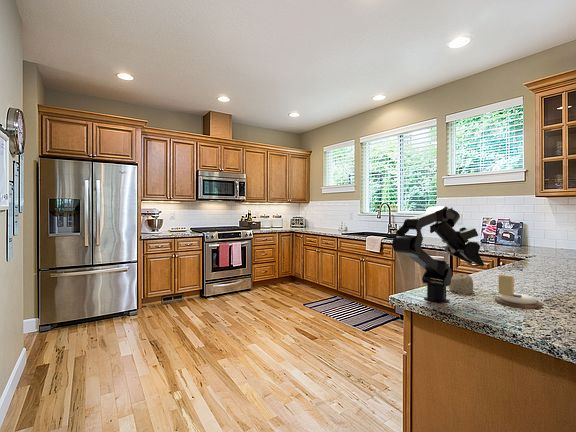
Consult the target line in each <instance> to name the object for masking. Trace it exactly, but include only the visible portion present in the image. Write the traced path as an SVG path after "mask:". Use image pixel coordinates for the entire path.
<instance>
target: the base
mask: <svg viewBox="0 0 576 432" xmlns="http://www.w3.org/2000/svg"><path fill="white" fill-rule="evenodd" d="M494 302H496V303H498V304H500V305H504V306H507V307H510V308H511V307H512V308H518V309H529V310H530V309H531V310H532V309H533V310H535V309H537V310H538V309H541V308H543V303H542V302H541V301H539V300H537V303H536V304H518V303H512V302H507V301H504V300H501V299H500V298H499V295H495V296H494Z"/></svg>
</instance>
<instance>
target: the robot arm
mask: <svg viewBox="0 0 576 432" xmlns="http://www.w3.org/2000/svg"><path fill="white" fill-rule="evenodd" d="M460 217H461V214H459V212H458V211H457V210H454V209H453V207H449V206H446V205H445V206H444V205H443V206H429V207H427V208H426V209H425V212H423V213H420V214H418V215H415V216H413V217H407V218H405V220H404V222H403V224H402V225H401V227H400V228H399V229H397V231H395V234H394V236H393V240H392V242H391V247H392V250H393V251H394V252H395V253H397V254H399V255H402V256H406V257H409V258H410V259H412V260H413V261H414V262H415V263H417V264H418V265H419V266H420V267H422V268H423V269H424V270H425V271H424V273H423V275H422V278H421V280H422V283H423V284H426V290H427V291H426V297H425V296H424V297H423V299H424V300H426V301H430V302H432V303H435V304H436V303H437V304H442V303H446V302H447V303H448V302H450V299H447V287H449V285H450V284H451V278H452V277H453V271H452V268H451V267H450V264H449V263H448V262H447V261H445V260H442V259H434V258H433V257H432V256H431V255H429V254H428V253H427V251H425V250H424V249H422V243H423V239H424V237H423V233H422V228H424V227H426V226H429V225H430V224H431V225H430V226H429V233H430V234H432V233H434V232H435V233H436V235H437V236H439V238H440V239H441V242H442V243H444V244H446V245H445V247H444V251H445V252H446V253H447V254H449V255H450V256H452V257H455V258H458V259H460V260H462V261H463V262H466V263H468V264H473V263H474V264H476V265H478V266H479V267H484V266H485V263H484V262H483V259H482V257H481V255H480V253H479V251H480V249H481V247H482V246H481V245H480V244H479V242H477V241H469V240H471V239H473V238H476V237H478V236H479V233H478V231H477V229H476V227H470V228H469V227H468V228H466V227H460V228H459V230H458V231H457V230H455V229H454V227H455V225H456V224H457V223H458V221H459V220H460ZM410 230H414V231H416V236H406V234H407V233H408V232H409V231H410Z"/></svg>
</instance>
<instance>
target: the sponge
mask: <svg viewBox="0 0 576 432" xmlns="http://www.w3.org/2000/svg"><path fill="white" fill-rule="evenodd" d="M448 289H449V291H450V290H451V291H450V292H453V291H454V292H455V293H458V294H472V292H473V293H474V281H473V278H472V277H471V275H469V274H467V273H456V274H454V275H452V278H451V284H450V285H449V286H448Z"/></svg>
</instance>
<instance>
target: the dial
mask: <svg viewBox="0 0 576 432" xmlns="http://www.w3.org/2000/svg"><path fill="white" fill-rule="evenodd" d="M514 278H515V276H513V275H508V274H507V275H506V274H501V273H500V274H498V294H499V295H498V296H499V298H500V299H501V300H504V301H507V302H512V303H518V304H536V303H537V301H538V300H537V297H535V296H531V295H529V294H523V293H517V292H515V289H514V287H515V285H514V283H515V281H514V280H515V279H514Z"/></svg>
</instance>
